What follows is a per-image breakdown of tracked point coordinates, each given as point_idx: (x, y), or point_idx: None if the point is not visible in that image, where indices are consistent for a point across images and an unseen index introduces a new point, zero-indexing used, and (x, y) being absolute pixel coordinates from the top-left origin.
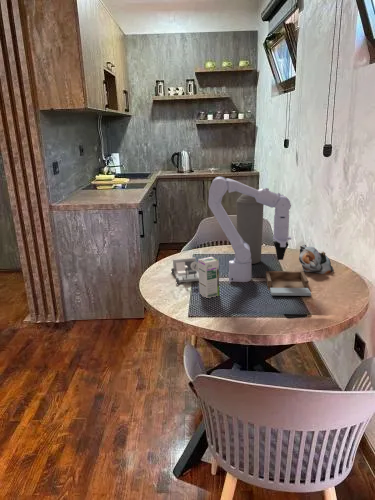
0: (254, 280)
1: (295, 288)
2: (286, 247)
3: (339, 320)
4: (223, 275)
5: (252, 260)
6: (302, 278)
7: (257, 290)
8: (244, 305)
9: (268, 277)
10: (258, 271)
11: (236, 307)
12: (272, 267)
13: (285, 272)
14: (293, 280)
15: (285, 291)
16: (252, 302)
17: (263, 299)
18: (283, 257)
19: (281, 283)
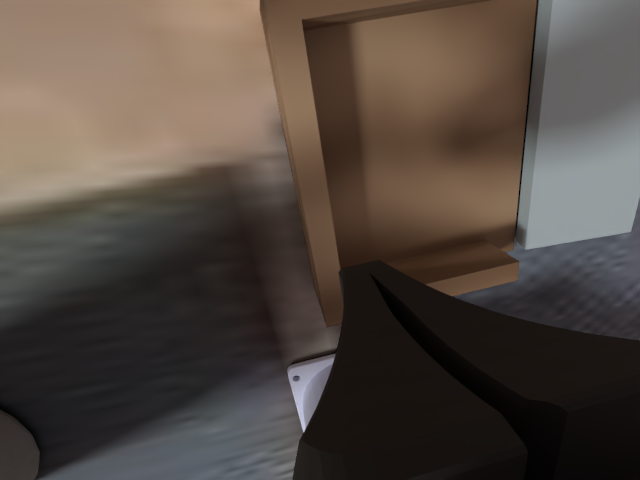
0: (329, 340)
1: (559, 80)
2: (598, 347)
3: None
4: (285, 475)
5: (2, 444)
6: (405, 7)
7: (471, 299)
8: (625, 315)
9: (455, 289)
10: (158, 353)
11: (635, 337)
12: (13, 285)
13: (325, 179)
14: (336, 97)
15: (620, 152)
16: (603, 292)
17: (581, 254)
18: (394, 269)
19: (407, 186)
